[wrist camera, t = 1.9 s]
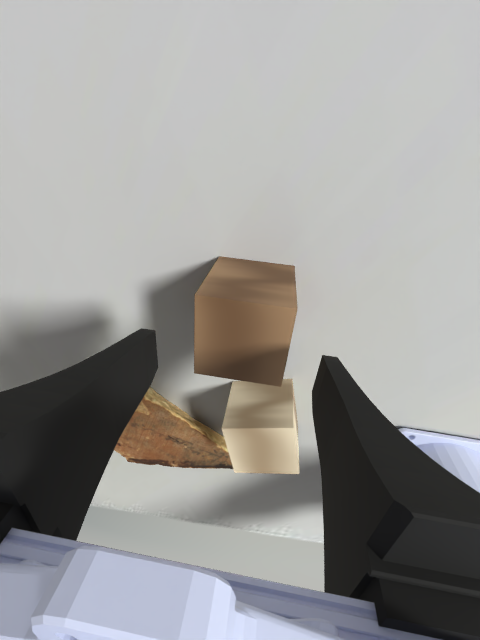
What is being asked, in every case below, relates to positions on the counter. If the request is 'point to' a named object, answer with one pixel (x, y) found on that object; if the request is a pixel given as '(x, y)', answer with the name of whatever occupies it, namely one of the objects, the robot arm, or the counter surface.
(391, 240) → the counter surface
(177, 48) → the counter surface
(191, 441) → the shard
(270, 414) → the maple block
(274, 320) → the walnut block
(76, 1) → the counter surface
